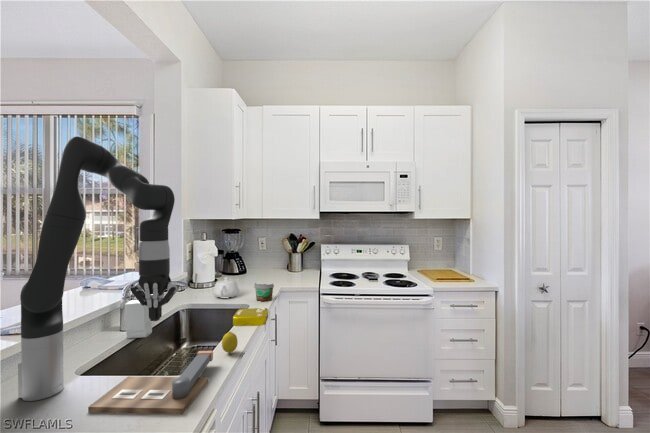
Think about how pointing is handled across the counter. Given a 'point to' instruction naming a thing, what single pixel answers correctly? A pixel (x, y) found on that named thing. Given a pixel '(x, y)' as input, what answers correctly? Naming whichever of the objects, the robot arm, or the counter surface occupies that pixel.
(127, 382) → the label board
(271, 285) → the food container
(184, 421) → the counter surface
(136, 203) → the robot arm
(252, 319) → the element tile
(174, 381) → the swing arm
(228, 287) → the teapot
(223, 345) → the lemon
